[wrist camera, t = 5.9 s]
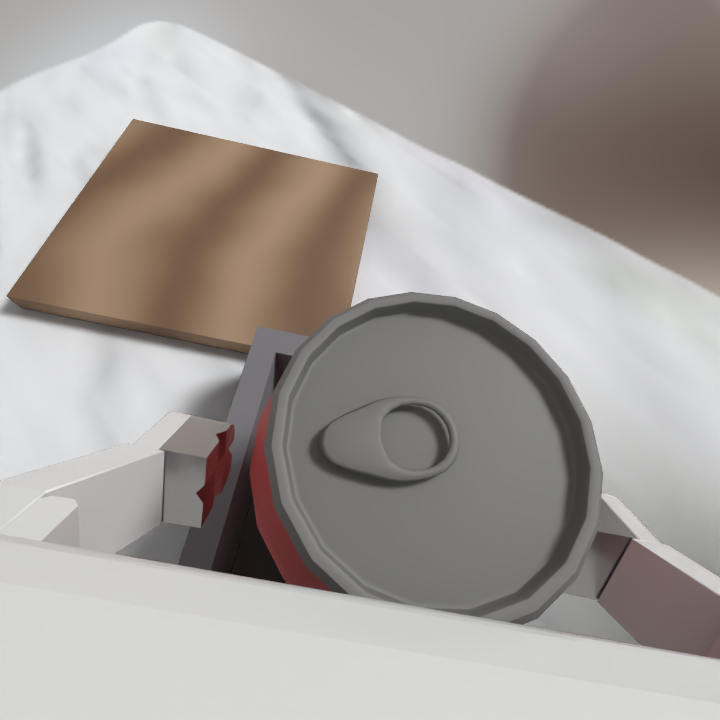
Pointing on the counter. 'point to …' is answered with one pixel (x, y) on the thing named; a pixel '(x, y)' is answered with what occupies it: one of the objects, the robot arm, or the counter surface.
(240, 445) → the can collar
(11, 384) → the counter surface
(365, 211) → the walnut board
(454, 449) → the beer can
